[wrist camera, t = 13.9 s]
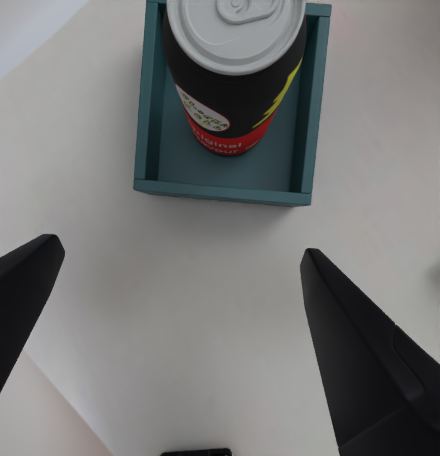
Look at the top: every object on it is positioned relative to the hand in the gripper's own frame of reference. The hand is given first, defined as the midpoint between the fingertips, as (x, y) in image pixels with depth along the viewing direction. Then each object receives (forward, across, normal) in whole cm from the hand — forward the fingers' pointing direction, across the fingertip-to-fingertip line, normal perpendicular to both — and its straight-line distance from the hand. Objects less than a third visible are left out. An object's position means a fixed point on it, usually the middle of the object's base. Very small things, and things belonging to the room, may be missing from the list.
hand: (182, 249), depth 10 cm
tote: (+16, -2, 0) cm, 16 cm away
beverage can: (+16, -2, 0) cm, 16 cm away
